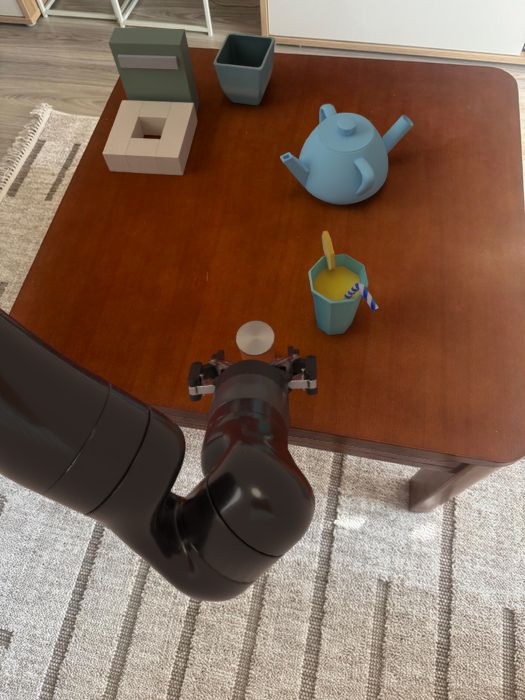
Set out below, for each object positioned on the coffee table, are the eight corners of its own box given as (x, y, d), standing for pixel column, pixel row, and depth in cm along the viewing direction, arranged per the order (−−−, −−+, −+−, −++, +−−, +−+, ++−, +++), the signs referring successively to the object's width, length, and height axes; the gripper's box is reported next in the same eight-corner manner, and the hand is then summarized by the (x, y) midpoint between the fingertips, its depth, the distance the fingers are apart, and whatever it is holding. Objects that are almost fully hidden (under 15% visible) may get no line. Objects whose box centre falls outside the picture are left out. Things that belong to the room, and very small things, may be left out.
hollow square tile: (109, 171, 92) (102, 153, 88) (128, 118, 98) (122, 99, 94) (183, 175, 90) (178, 157, 87) (197, 121, 96) (193, 102, 92)
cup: (387, 349, 73) (406, 291, 60) (339, 374, 72) (348, 321, 59) (334, 277, 79) (341, 209, 66) (289, 299, 78) (287, 234, 64)
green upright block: (132, 117, 98) (107, 44, 85) (138, 100, 100) (114, 27, 87) (195, 119, 96) (179, 46, 84) (199, 103, 98) (184, 28, 86)
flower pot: (233, 77, 101) (227, 31, 93) (278, 82, 99) (275, 36, 91) (219, 108, 97) (212, 63, 89) (265, 114, 96) (262, 69, 88)
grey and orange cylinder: (240, 381, 72) (233, 352, 64) (246, 350, 75) (239, 318, 67) (275, 385, 72) (271, 356, 64) (279, 353, 74) (276, 322, 66)
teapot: (383, 225, 83) (394, 171, 73) (280, 200, 86) (277, 146, 76) (407, 156, 89) (420, 98, 79) (309, 136, 93) (310, 78, 82)
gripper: (323, 370, 48) (312, 322, 63) (169, 379, 49) (195, 329, 64) (326, 443, 50) (314, 380, 66) (179, 450, 51) (202, 386, 66)
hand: (256, 355), depth 65 cm, fingers open, 8 cm apart
